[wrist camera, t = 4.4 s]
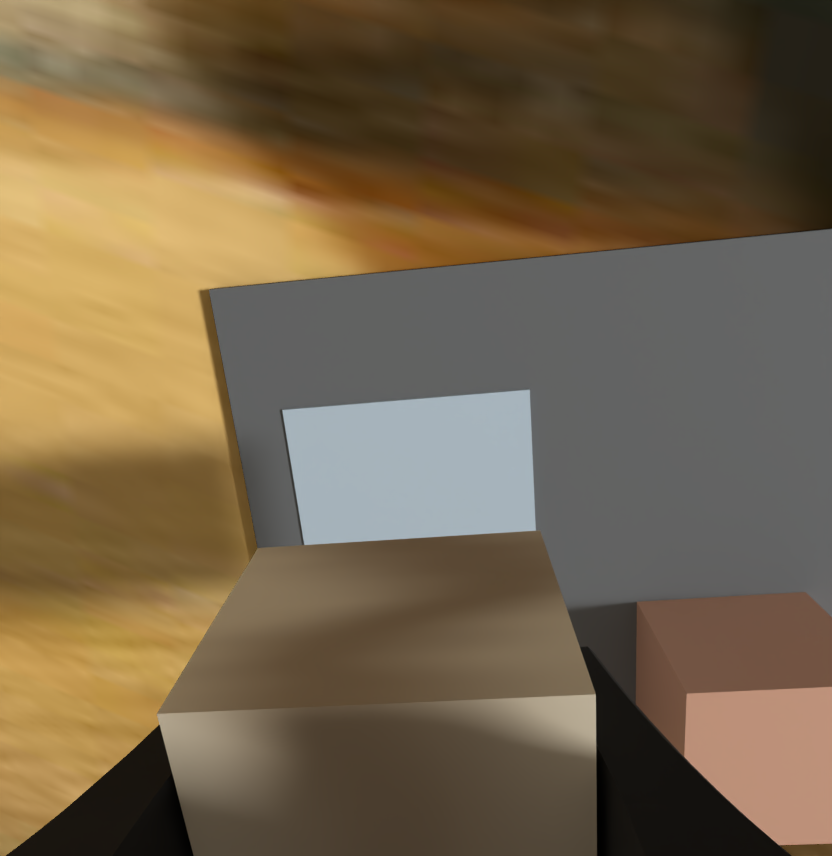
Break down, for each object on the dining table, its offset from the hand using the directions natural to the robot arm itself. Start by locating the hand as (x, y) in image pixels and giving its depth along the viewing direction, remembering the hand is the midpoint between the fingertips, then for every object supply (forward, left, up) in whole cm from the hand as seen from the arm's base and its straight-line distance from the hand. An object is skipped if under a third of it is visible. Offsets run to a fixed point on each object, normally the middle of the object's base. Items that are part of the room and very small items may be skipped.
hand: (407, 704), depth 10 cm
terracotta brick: (-9, +6, -8) cm, 13 cm away
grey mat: (-5, +1, -8) cm, 10 cm away
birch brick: (0, 0, -1) cm, 1 cm away
